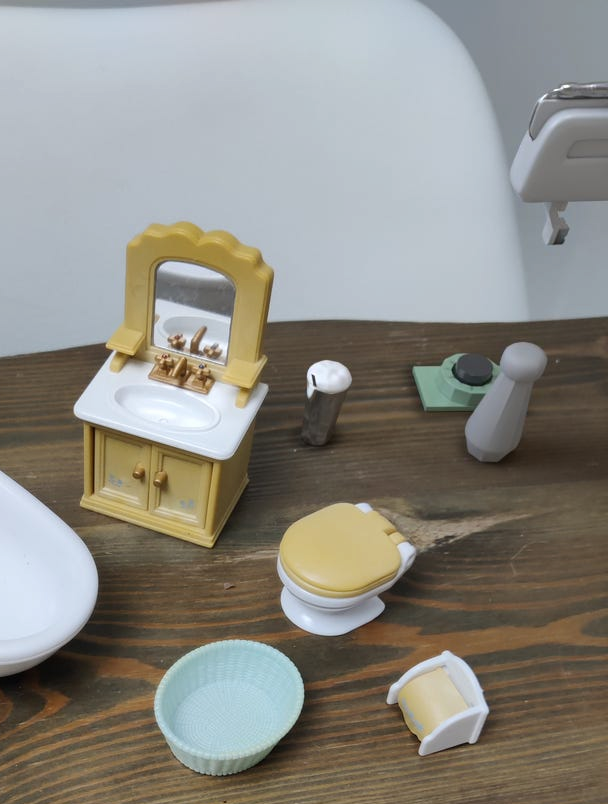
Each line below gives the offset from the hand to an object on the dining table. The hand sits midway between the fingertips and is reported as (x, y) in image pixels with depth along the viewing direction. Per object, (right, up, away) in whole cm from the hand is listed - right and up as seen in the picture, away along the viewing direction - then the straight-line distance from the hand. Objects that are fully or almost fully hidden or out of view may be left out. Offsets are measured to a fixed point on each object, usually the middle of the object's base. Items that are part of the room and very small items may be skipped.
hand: (602, 240), depth 89 cm
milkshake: (-23, -14, +18) cm, 33 cm away
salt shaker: (-4, -16, +18) cm, 24 cm away
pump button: (-4, -7, +22) cm, 23 cm away
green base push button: (-4, -8, +23) cm, 25 cm away
